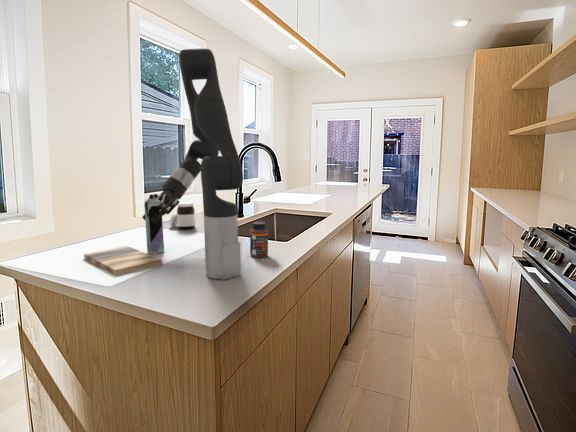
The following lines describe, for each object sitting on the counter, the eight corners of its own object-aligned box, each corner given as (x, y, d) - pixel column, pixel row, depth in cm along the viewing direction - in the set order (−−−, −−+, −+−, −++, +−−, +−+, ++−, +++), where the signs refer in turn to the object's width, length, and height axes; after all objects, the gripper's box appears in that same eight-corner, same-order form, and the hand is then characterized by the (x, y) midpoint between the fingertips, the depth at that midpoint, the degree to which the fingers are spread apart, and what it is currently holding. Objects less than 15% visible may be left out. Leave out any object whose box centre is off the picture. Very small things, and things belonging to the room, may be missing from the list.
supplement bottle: (255, 259, 120) (255, 225, 118) (247, 255, 125) (246, 222, 123) (271, 256, 123) (271, 223, 121) (262, 252, 128) (262, 220, 126)
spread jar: (195, 230, 163) (194, 204, 161) (168, 231, 161) (166, 204, 159) (195, 224, 175) (194, 200, 173) (170, 225, 172) (169, 201, 170)
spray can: (158, 254, 126) (155, 195, 122) (144, 253, 127) (140, 195, 123) (167, 249, 131) (163, 193, 127) (153, 249, 132) (149, 193, 128)
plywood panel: (162, 264, 114) (161, 259, 114) (116, 275, 104) (115, 269, 104) (127, 250, 130) (126, 245, 130) (84, 258, 120) (84, 253, 120)
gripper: (160, 175, 134) (130, 211, 128) (182, 177, 125) (151, 216, 118) (174, 188, 139) (146, 224, 133) (196, 191, 130) (167, 230, 123)
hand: (149, 220), depth 125 cm, fingers closed on spray can, 5 cm apart
